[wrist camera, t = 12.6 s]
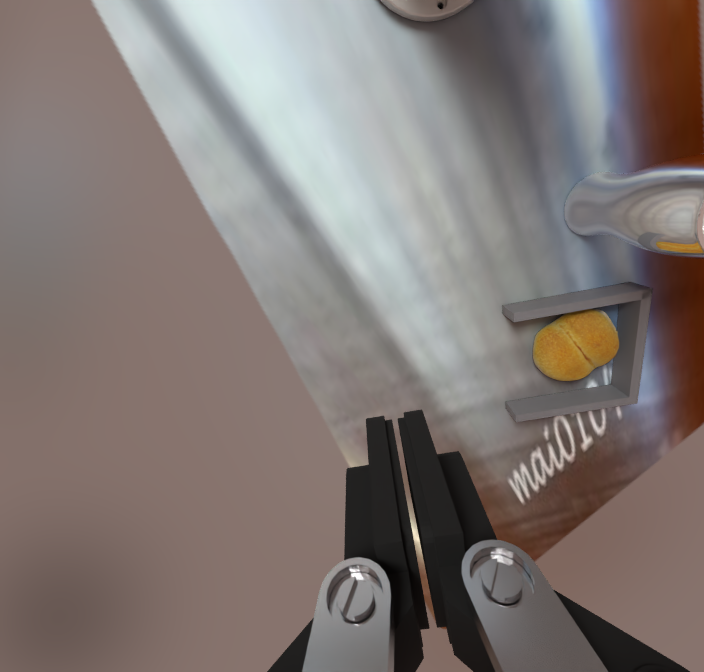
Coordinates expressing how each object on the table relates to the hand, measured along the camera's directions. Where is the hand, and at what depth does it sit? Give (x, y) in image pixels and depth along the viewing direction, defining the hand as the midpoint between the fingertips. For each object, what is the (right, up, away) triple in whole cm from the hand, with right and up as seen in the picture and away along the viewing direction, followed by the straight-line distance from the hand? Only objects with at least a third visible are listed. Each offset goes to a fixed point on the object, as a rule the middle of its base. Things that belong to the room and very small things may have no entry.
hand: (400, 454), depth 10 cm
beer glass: (+23, +17, +25) cm, 38 cm away
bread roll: (+24, +3, +31) cm, 39 cm away
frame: (+24, +2, +31) cm, 39 cm away
